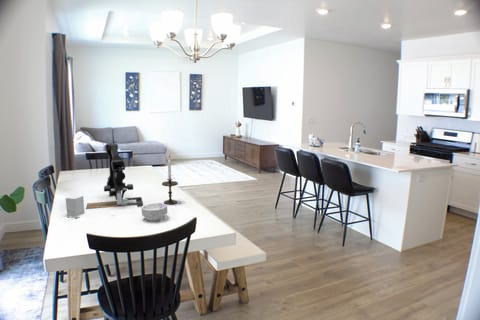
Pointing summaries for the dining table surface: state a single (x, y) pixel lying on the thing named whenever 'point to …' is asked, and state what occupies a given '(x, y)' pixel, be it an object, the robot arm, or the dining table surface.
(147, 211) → the paper bowls
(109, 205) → the board
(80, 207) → the supplement box
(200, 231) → the dining table surface
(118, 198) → the grey block
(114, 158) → the robot arm
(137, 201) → the tray
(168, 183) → the candlestick
